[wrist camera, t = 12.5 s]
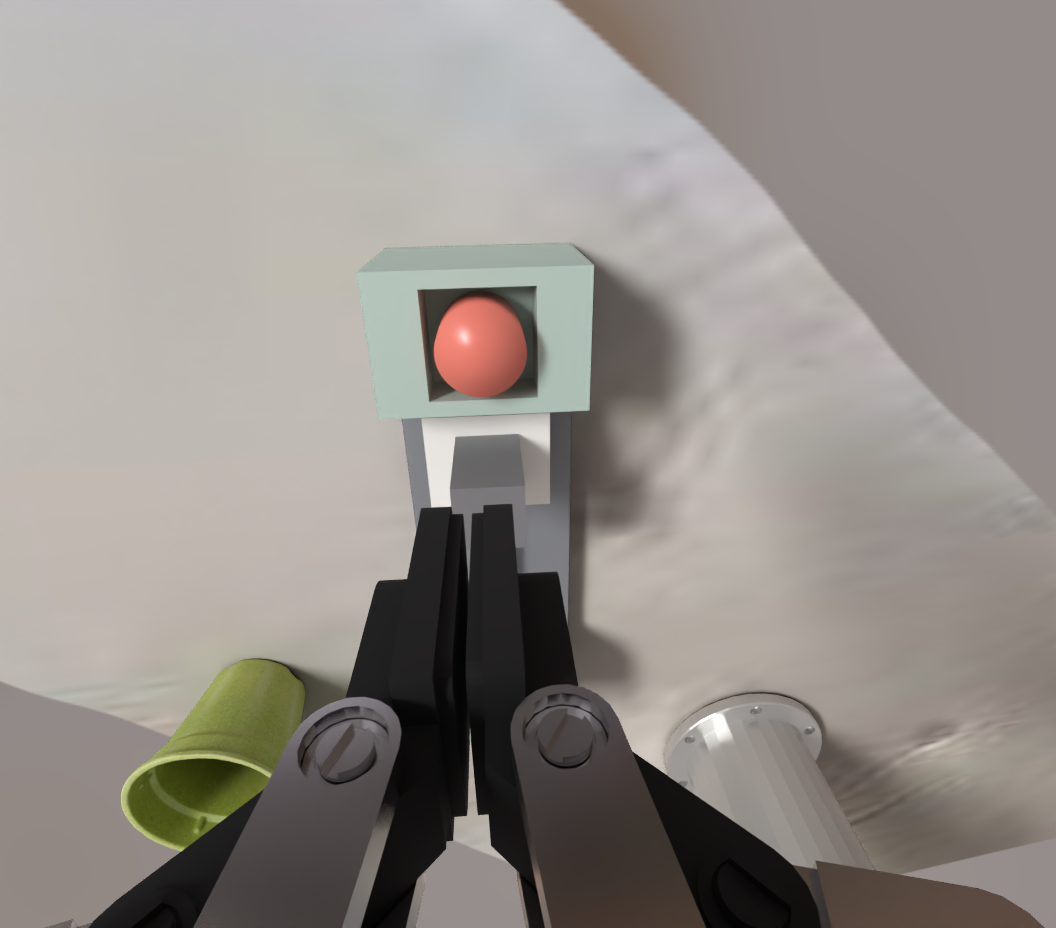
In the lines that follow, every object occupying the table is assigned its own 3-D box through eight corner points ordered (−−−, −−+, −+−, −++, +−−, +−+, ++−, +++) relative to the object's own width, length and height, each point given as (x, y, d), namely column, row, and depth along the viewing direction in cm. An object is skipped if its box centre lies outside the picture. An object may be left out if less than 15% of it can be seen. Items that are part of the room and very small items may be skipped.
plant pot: (188, 630, 38) (113, 748, 30) (335, 647, 39) (299, 764, 32) (192, 725, 42) (126, 851, 34) (325, 737, 43) (290, 861, 36)
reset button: (523, 371, 26) (528, 395, 23) (443, 374, 26) (438, 398, 23) (521, 289, 24) (526, 305, 22) (435, 292, 24) (429, 308, 21)
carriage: (546, 484, 31) (561, 564, 25) (434, 489, 31) (422, 572, 25) (545, 397, 29) (562, 461, 23) (425, 402, 28) (408, 469, 22)
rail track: (564, 658, 41) (578, 745, 35) (438, 666, 41) (429, 756, 35) (569, 243, 28) (594, 265, 22) (384, 248, 28) (356, 272, 22)
